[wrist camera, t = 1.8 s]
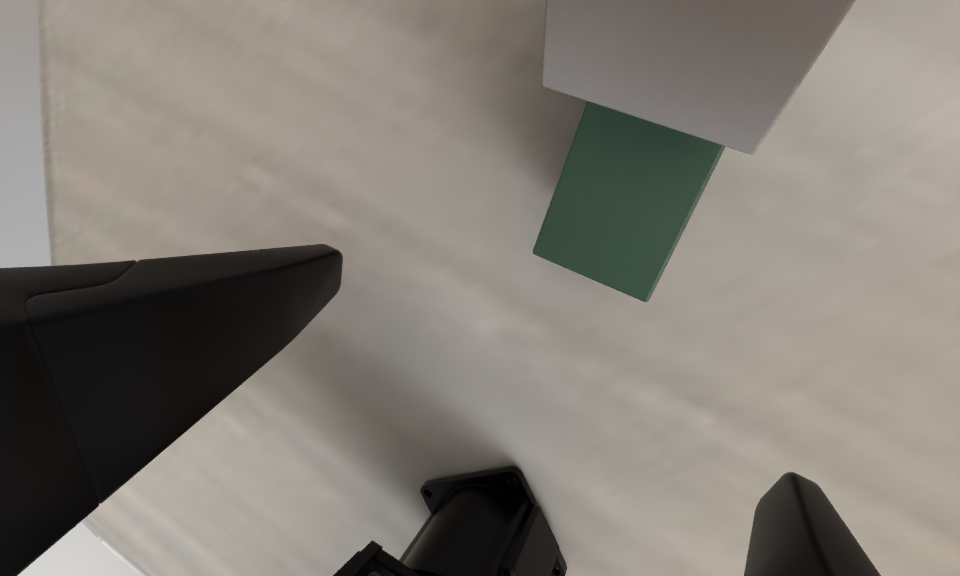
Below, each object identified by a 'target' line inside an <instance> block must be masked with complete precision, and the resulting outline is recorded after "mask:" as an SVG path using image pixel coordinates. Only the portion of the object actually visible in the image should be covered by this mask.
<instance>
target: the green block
mask: <svg viewBox="0 0 960 576" xmlns="http://www.w3.org/2000/svg"><path fill="white" fill-rule="evenodd" d="M724 148H725V146H723V145H720V144H717V143H714V142H711V141H708V140H705V139H702V138H699V137H696V136H693V135H690V134H687V133H683V132H680V131H677V130H674V129H671V128H668V127H665V126H662V125H659V124H656V123H653V122H650V121H647V120H644V119H641V118H638V117H635V116H632V115H629V114H626V113H623V112H620V111H617V110H614V109H611V108H608V107H605V106H602V105H598V104H595V103H592V102H589V101H587V103H586V106H585V109H584V111H583V114H582V117H581V120H580V122H579V125H578V128H577V131H576V133H575V136H574V139H573V142H572V144H571V147H570V150H569V153H568V155H567V158H566V161H565V164H564V166H563V169H562V172H561V175H560V177H559V180H558V183H557V186H556V188H555V191H554V194H553V197H552V199H551V202H550V205H549V208H548V210H547V213H546V216H545V219H544V221H543V224H542V227H541V230H540V232H539V235H538V238H537V241H536V243H535V246H534V249H533V254H535V255H537V256H539V257H541V258H544V259H546V260H548V261H551V262H553V263H555V264H558V265H560V266H562V267H565V268H567V269H569V270H572V271H574V272H576V273H579V274H581V275H583V276H586V277H588V278H590V279H592V280H595V281H597V282H599V283H602V284H604V285H606V286H609V287H611V288H613V289H616V290H618V291H620V292H623V293H625V294H627V295H630V296H632V297H634V298H637V299H639V300H641V301H644V302H647V301H649V299H650V297H651V295H652V293H653V291H654V289H655V287H656V285H657V283H658V281H659V279H660V277H661V275H662V273H663V271H664V269H665V267H666V265H667V263H668V261H669V259H670V257H671V255H672V253H673V251H674V249H675V247H676V245H677V243H678V241H679V239H680V237H681V235H682V233H683V231H684V229H685V227H686V225H687V223H688V221H689V219H690V217H691V215H692V213H693V211H694V209H695V206H696V204H697V202H698V200H699V198H700V196H701V194H702V192H703V190H704V188H705V186H706V184H707V182H708V180H709V178H710V176H711V174H712V172H713V170H714V168H715V166H716V164H717V162H718V160H719V158H720V156H721V154H722V152H723V150H724Z"/></svg>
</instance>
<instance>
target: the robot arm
mask: <svg viewBox="0 0 960 576" xmlns="http://www.w3.org/2000/svg"><path fill="white" fill-rule="evenodd" d="M342 262H343V256H342V254H341V252H340V251H339V250H336V249H334V248H332V247H330V246H328V245H325V244H318V245H306V246H295V247H283V248H272V249H260V250H249V251H237V252H226V253H214V254H202V255H191V256H179V257H168V258H156V259H145V260H139V261H138V262H137V261H135V260H132V261H121V262H109V263H95V264H81V265H63V266H43V267H18V268H0V576H17V575H18V574H20V573H21V572H22V571H23V570H24V569H25V568H27V567H28V566H29V565H30V564H31V563H32V562H34V561H35V560H36V559H37V558H38V557H39V556H41V555H42V554H43V553H44V552H45V551H47V550H48V549H49V548H50V547H51V546H52V545H54V544H55V543H56V542H57V541H58V540H59V539H61V538H62V537H63V536H64V535H65V534H67V533H68V531H70V530H71V529H72V528H74V527H75V526H76V525H77V524H78V523H79V522H81V521H82V520H83V519H84V518H85V517H87V516H88V515H89V514H90V513H91V512H92V511H94V510H95V509H96V508H97V507H98V506H99V503H103V502H104V501H105V500H106V499H107V498H108V497H110V496H111V495H112V494H113V493H114V492H115V491H117V490H118V489H119V488H120V487H121V486H122V485H124V484H125V483H126V482H127V481H128V480H130V479H131V478H132V477H133V476H134V475H135V474H137V473H138V472H139V471H140V470H141V469H142V468H144V467H145V466H146V465H147V464H148V463H149V462H151V461H152V460H153V459H154V458H155V457H157V456H158V455H159V454H160V453H161V452H162V451H164V450H165V449H166V448H167V447H168V446H169V445H171V444H172V443H173V442H174V441H175V440H176V439H178V438H179V437H180V436H181V435H182V434H184V433H185V432H186V431H187V430H188V429H189V428H191V427H192V426H193V425H194V424H195V423H196V422H198V421H199V420H200V419H201V418H202V417H203V416H205V415H206V414H207V413H208V412H209V411H211V410H212V409H213V408H214V407H215V406H216V405H218V404H219V403H220V402H221V401H222V400H223V399H225V398H226V397H227V396H228V395H229V394H230V393H232V392H233V391H234V390H235V389H236V388H238V387H239V386H240V385H241V384H242V383H243V382H245V381H246V380H247V379H248V378H249V377H250V376H252V375H253V374H254V373H255V372H256V371H257V370H259V369H260V368H261V367H262V366H263V365H265V364H266V363H267V362H268V361H269V360H270V359H272V358H273V357H274V356H275V355H276V354H277V353H279V352H280V351H281V350H282V349H283V348H284V347H285V346H287V345H288V344H289V343H290V342H291V341H292V340H293V339H294V338H295V337H296V336H297V335H298V334H299V333H300V332H301V331H302V330H303V329H304V328H305V327H306V326H307V325H308V324H309V322H310V321H311V320H312V319H313V318H314V317H315V316H316V315H317V314H318V313H319V312H320V311H321V310H322V309H323V308H324V307H325V306H326V305H327V304H328V302H329V301H330V300H331V299H332V298H333V297H334V296H335V295H336V294H337V292H338V291H339V289H340V286H341V276H342ZM511 476H513V477H515V478H516V479H513V478H511ZM429 490H430V491H431V492H430V491H429ZM421 494H422V496H423V498H424V500H425V502H426V504H427V506H428V508H429V510H430V512H431V515H430V516H429V518H428V519H427V521H426V522H425V524H424V525H423V526H422V528H421V529H420V531H419V532H418V534H417V535H416V537H415V538H414V539H413V541H412V542H411V544H410V545H409V547H408V548H407V550H406V551H405V552H404V554H403V555H402V557H401V558H400V560H397V559H396V558H394V557H393V556H391V555H390V554H388V553H387V552H385V551H384V550H382V546H380V545H379V544H377V543H376V542H374V541H373V540H372V541H371V542H370V543H369V544H368V545H367V546H366V547H365V548H364V549H363V550H362V551H361V552H360V551H358V552H357V553H356V554H355V555H354V556H353V557H352V558H351V559H350V560H349V561H348V562H347V563H346V564H345V565H344V566H343V567H342V568H340V569H339V570H338V571H337V572H336V573H335V574H334V575H333V576H565V574H566V570H567V566H566V563H565V561H564V559H563V557H562V555H561V553H560V551H559V546H558V543H557V541H556V539H555V537H554V535H553V533H552V531H551V529H550V527H549V525H548V522H547V520H546V518H545V516H544V514H543V512H542V510H541V508H540V507H539V506H538V504H537V502H536V500H535V498H534V496H533V494H532V492H531V490H530V488H529V486H528V484H527V481H526V479H525V477H524V475H523V473H522V472H521V470H519V469H518V468H516V467H506V468H500V469H494V470H488V471H483V472H477V473H471V474H466V475H460V476H454V477H448V478H443V479H437V480H431V481H427V482H425V484H424V485H423V486H422V488H421ZM555 567H556V568H555ZM557 568H558V569H557ZM744 576H881V575H880V574H879V572H878V571H877V570H876V568H875V567H874V565H873V564H872V562H871V561H870V559H869V558H868V556H867V555H866V554H865V552H864V551H863V549H862V548H861V546H860V545H859V543H858V542H857V540H856V539H855V538H854V536H853V535H852V533H851V532H850V530H849V529H848V527H847V526H846V525H845V523H844V522H843V520H842V519H841V517H840V516H839V514H838V513H837V511H836V510H835V509H834V507H833V506H832V504H831V503H830V501H829V500H828V498H827V497H826V495H825V494H824V493H823V491H822V490H821V488H820V487H819V486H818V485H817V484H816V483H814V482H813V481H810V480H808V479H806V478H804V477H802V476H800V475H798V474H796V473H794V472H788V473H786V474H784V475H783V476H782V477H781V478H780V479H779V480H778V481H777V482H776V483H775V484H774V485H773V486H772V487H771V489H770V490H769V491H768V492H767V493H766V494H765V495H764V496H763V497H762V498H761V499H760V501H759V503H758V505H757V507H756V510H755V515H754V521H753V527H752V532H751V538H750V544H749V550H748V555H747V561H746V567H745V573H744Z"/></svg>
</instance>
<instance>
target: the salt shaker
mask: <svg viewBox="0 0 960 576" xmlns="http://www.w3.org/2000/svg"><path fill="white" fill-rule="evenodd" d="M855 1H856V0H546V11H545V32H544V52H543V73H542V85H543V86H544V87H547V88H550V89H553V90H556V91H559V92H562V93H565V94H568V95H571V96H574V97H577V98H580V99H583V100H586V101H589V102H592V103H595V104H598V105H602V106H605V107H608V108H611V109H614V110H617V111H620V112H623V113H626V114H629V115H632V116H635V117H638V118H641V119H644V120H647V121H650V122H653V123H656V124H659V125H662V126H665V127H668V128H671V129H674V130H677V131H680V132H683V133H687V134H690V135H693V136H696V137H699V138H702V139H705V140H708V141H711V142H714V143H717V144H720V145H723V146H726V147H729V148H732V149H735V150H738V151H741V152H744V153H747V154H754V153H755V152H756V150H757V149H758V147H759V146H760V144H761V143H762V141H763V140H764V138H765V137H766V135H767V134H768V132H769V131H770V129H771V128H772V126H773V125H774V123H775V122H776V120H777V119H778V117H779V116H780V114H781V113H782V111H783V110H784V108H785V107H786V105H787V104H788V102H789V101H790V99H791V97H792V96H793V94H794V93H795V91H796V90H797V88H798V87H799V85H800V84H801V82H802V81H803V79H804V78H805V76H806V75H807V73H808V72H809V70H810V69H811V67H812V66H813V64H814V63H815V61H816V60H817V58H818V57H819V55H820V54H821V52H822V51H823V49H824V48H825V46H826V44H827V43H828V41H829V40H830V38H831V37H832V35H833V34H834V32H835V31H836V29H837V28H838V26H839V25H840V23H841V22H842V20H843V19H844V17H845V16H846V14H847V13H848V11H849V10H850V8H851V7H852V5H853V4H854V2H855Z"/></svg>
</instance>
